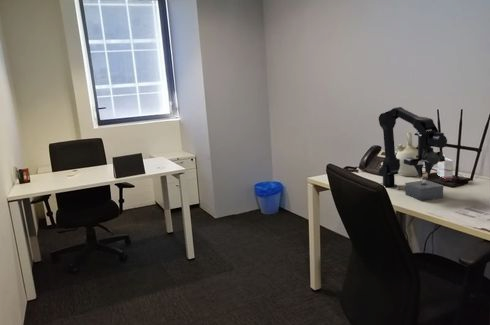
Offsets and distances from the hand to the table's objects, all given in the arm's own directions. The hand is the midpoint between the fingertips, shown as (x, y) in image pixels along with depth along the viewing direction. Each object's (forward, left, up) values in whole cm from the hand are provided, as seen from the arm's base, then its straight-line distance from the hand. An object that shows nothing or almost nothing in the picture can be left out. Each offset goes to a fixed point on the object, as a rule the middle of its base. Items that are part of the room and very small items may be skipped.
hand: (424, 177), depth 189 cm
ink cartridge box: (-20, +28, -10) cm, 36 cm away
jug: (-40, +20, -10) cm, 46 cm away
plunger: (0, 0, -5) cm, 5 cm away
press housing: (0, 0, -10) cm, 10 cm away
